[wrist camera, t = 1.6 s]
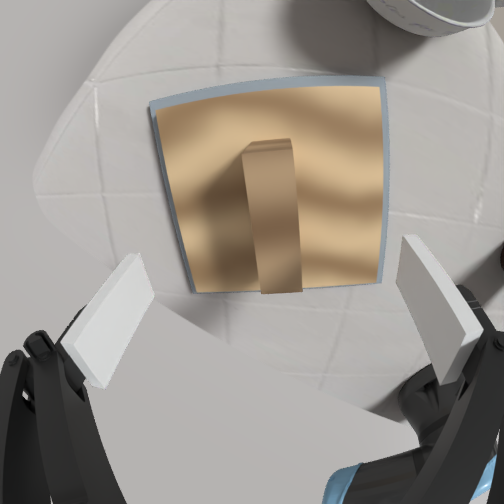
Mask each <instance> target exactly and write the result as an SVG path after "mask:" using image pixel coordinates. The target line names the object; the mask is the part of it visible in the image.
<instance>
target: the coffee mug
mask: <svg viewBox="0 0 504 504" xmlns="http://www.w3.org/2000/svg"><path fill="white" fill-rule="evenodd" d="M501 266H502V268H503V270H504V247H503V249H502V253H501Z"/></svg>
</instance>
